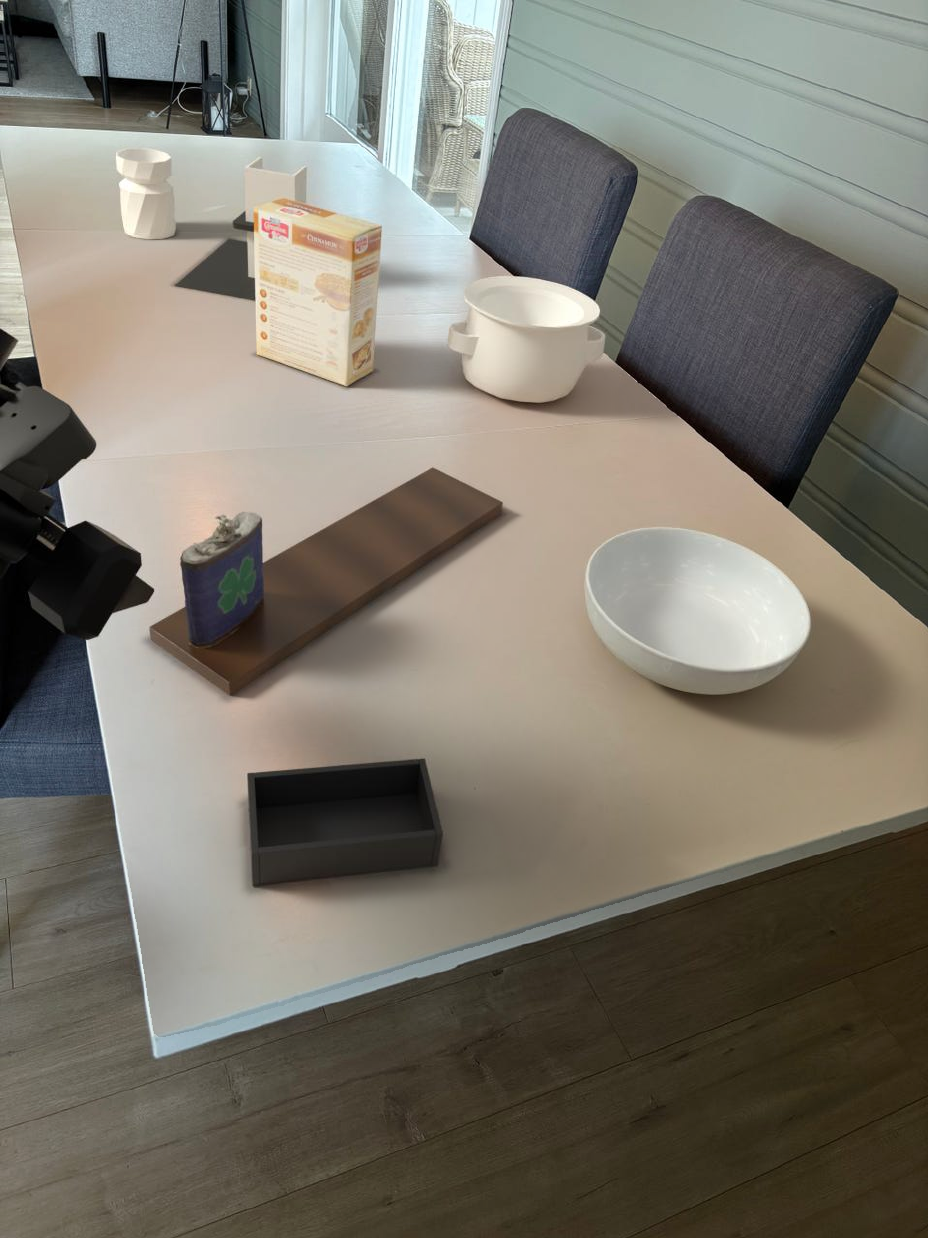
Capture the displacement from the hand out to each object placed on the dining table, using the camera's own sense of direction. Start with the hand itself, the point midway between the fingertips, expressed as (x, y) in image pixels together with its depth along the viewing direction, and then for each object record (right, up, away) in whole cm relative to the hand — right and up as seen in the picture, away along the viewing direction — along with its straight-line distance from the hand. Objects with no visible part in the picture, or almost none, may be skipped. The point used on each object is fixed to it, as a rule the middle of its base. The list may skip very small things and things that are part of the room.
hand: (108, 565), depth 66 cm
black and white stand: (-5, +53, +84) cm, 99 cm away
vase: (-29, +63, +92) cm, 115 cm away
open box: (+17, -20, +1) cm, 26 cm away
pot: (+33, +29, +63) cm, 77 cm away
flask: (+5, -4, +15) cm, 17 cm away
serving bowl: (+46, -7, +23) cm, 52 cm away
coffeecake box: (+5, +31, +60) cm, 68 cm away
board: (+14, +1, +26) cm, 29 cm away
